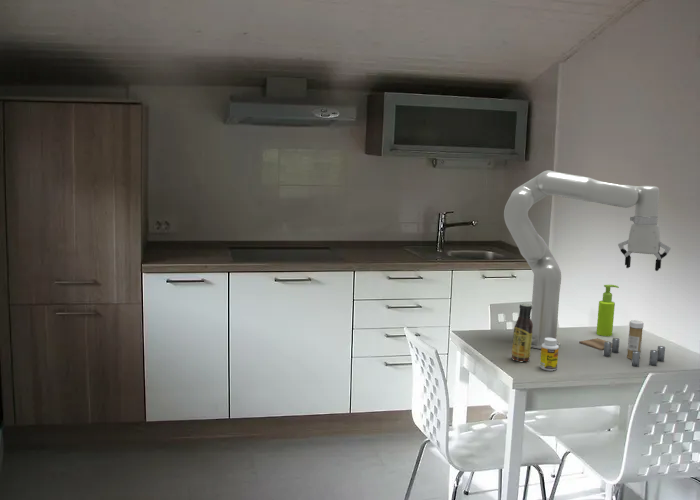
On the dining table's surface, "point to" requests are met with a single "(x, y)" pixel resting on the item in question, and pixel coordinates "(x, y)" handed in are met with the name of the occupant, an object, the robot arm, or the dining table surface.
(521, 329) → the sauce bottle
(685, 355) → the dining table surface
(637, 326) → the sprinkles bottle
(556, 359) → the supplement bottle
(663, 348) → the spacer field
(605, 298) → the soap dispenser
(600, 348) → the walnut pad
